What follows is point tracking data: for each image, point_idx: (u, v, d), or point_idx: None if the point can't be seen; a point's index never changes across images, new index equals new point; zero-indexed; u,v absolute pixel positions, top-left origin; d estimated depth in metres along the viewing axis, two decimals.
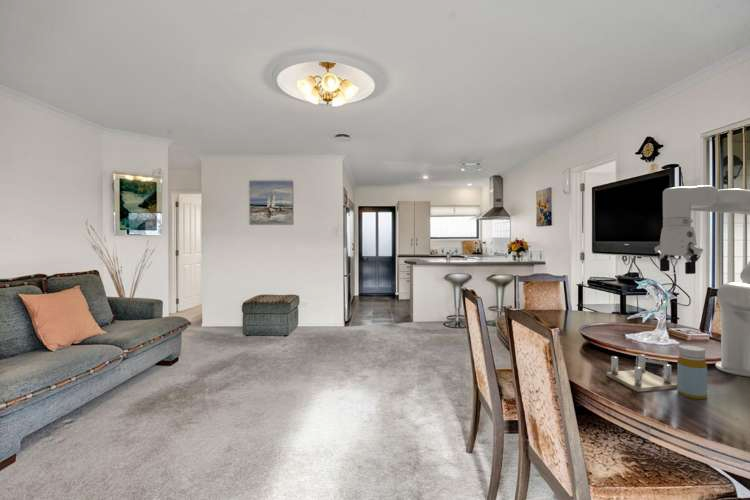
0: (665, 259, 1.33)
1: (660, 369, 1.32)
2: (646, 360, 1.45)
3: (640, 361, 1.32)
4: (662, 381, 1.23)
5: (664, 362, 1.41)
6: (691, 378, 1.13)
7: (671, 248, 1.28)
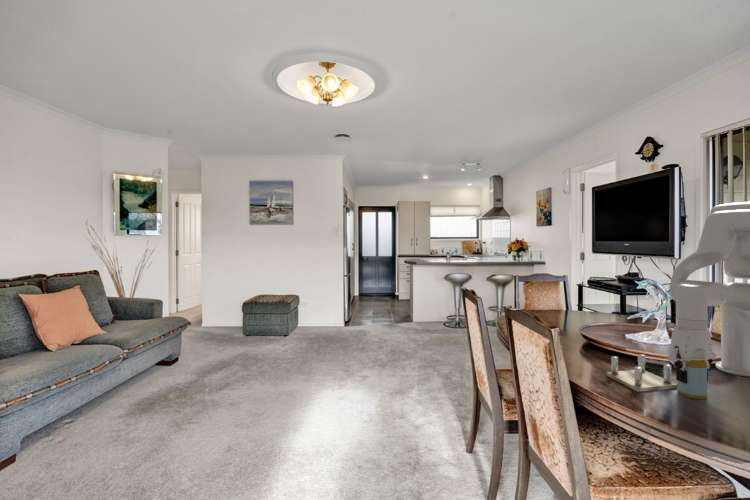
0: None
1: (663, 369, 1.31)
2: (647, 360, 1.44)
3: (640, 361, 1.32)
4: (662, 381, 1.23)
5: (666, 362, 1.41)
6: (691, 378, 1.13)
7: None
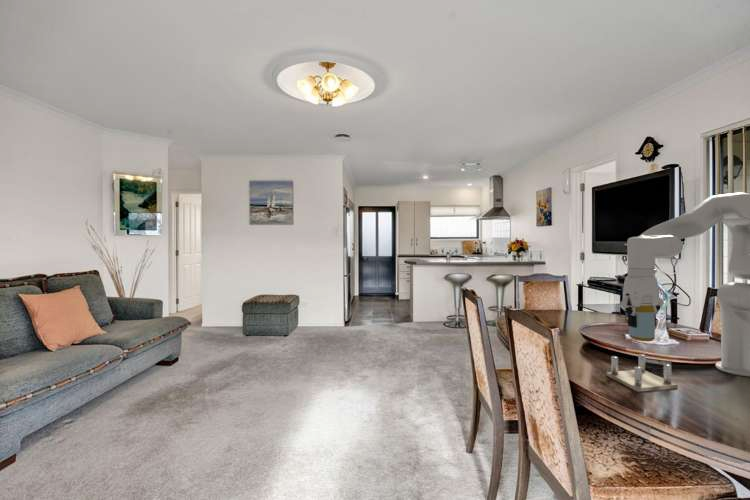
0: None
1: None
2: (649, 361, 1.44)
3: (640, 361, 1.32)
4: (662, 381, 1.23)
5: (667, 362, 1.40)
6: (640, 322, 1.23)
7: None
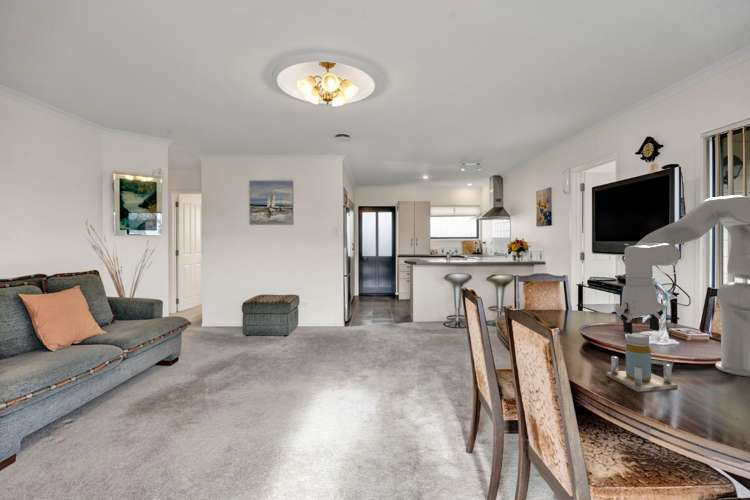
0: None
1: None
2: (651, 361, 1.43)
3: None
4: (662, 381, 1.23)
5: (669, 363, 1.40)
6: (636, 362, 1.24)
7: (646, 308, 1.23)
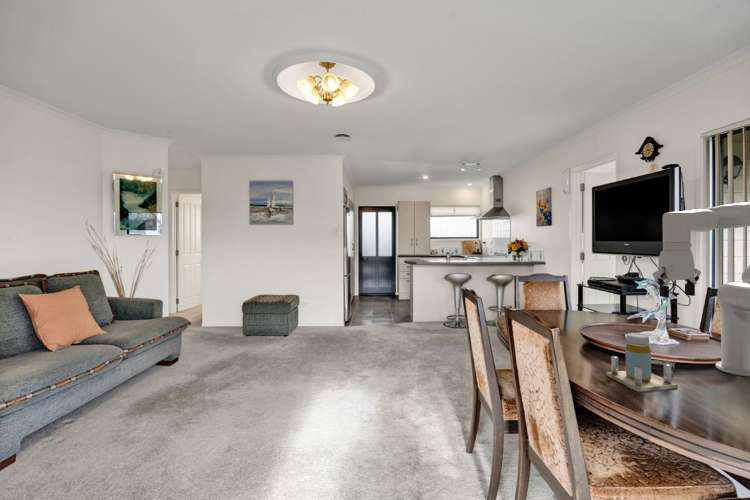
0: None
1: (671, 371, 1.30)
2: (652, 361, 1.43)
3: None
4: (662, 381, 1.23)
5: (670, 363, 1.40)
6: (636, 362, 1.24)
7: (683, 273, 1.26)
